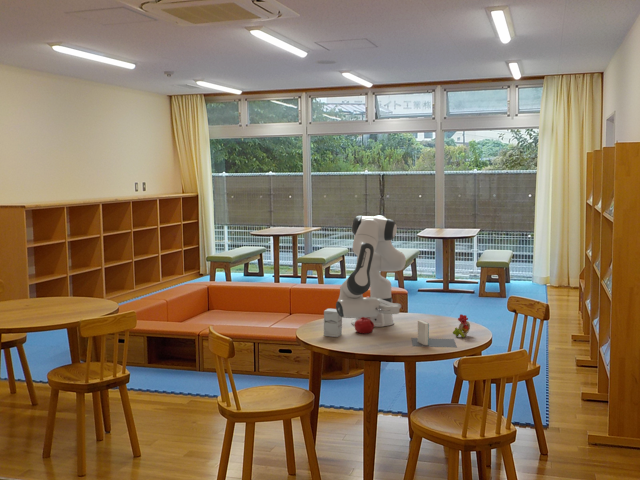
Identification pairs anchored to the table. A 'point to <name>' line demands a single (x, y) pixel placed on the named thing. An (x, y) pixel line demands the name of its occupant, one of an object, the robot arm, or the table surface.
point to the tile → (423, 332)
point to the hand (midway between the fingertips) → (399, 305)
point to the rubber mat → (435, 343)
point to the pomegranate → (364, 325)
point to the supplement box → (332, 323)
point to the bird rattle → (462, 326)
